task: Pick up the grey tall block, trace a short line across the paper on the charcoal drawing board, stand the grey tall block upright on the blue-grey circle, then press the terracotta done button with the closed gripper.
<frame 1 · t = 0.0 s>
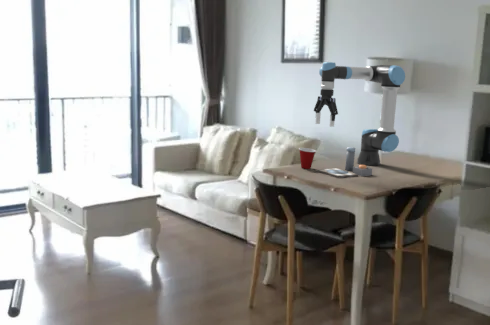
hand: (324, 125, 326), 28 cm above the table, tool pointing down, fingers open, 13 cm apart
grey tall block: (349, 170, 340), on the table
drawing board: (337, 173, 327), on the table
button housing: (362, 174, 328), on the table
plastic cup: (306, 168, 340), on the table
done button: (362, 167, 327), point 4 cm above the table, slide at 0.0 cm
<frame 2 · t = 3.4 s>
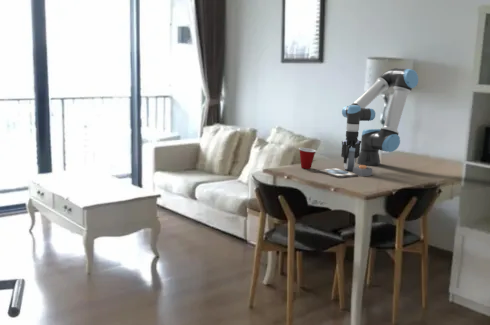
hand: (349, 168, 340), 1 cm above the table, tool pointing down, fingers closed on grey tall block, 5 cm apart
grey tall block: (349, 170, 340), on the table, touching gripper
everything else where it was.
when the fingers open (3 cm above the table, at t = 9.2 s): grey tall block stays where it is, resting on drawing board.
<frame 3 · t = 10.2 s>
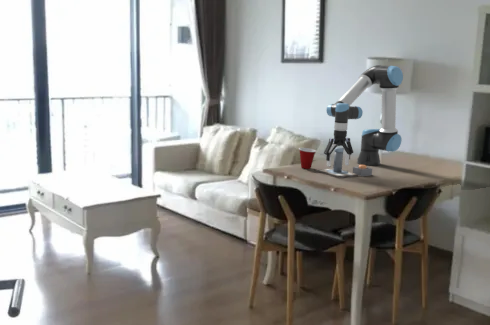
hand: (337, 165, 326), 5 cm above the table, tool pointing down, fingers open, 13 cm apart
grey tall block: (337, 171, 326), point 1 cm above the table, touching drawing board
everything else where it was.
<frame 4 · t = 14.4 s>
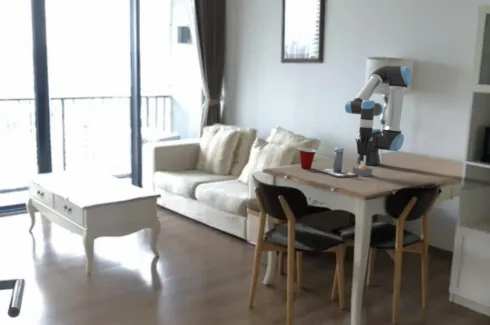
hand: (362, 166, 327), 5 cm above the table, tool pointing down, fingers closed
done button: (362, 168, 328), point 3 cm above the table, slide at 0.8 cm, touching gripper
everything else where it was.
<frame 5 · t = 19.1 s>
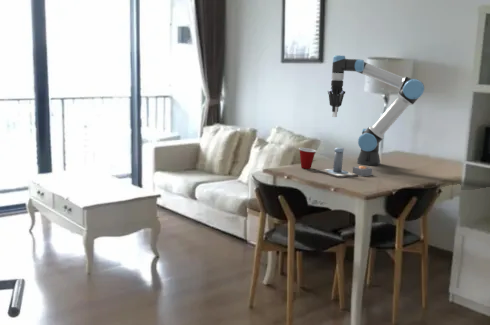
hand: (334, 116, 356), 30 cm above the table, tool pointing down, fingers closed
done button: (362, 168, 328), point 3 cm above the table, slide at 0.8 cm
everything else where it was.
at the end: grey tall block 0.0 cm off-centre on the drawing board, point 1.3 cm above the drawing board's base; grey tall block tilted 0°; done button slide at 0.8 cm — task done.
